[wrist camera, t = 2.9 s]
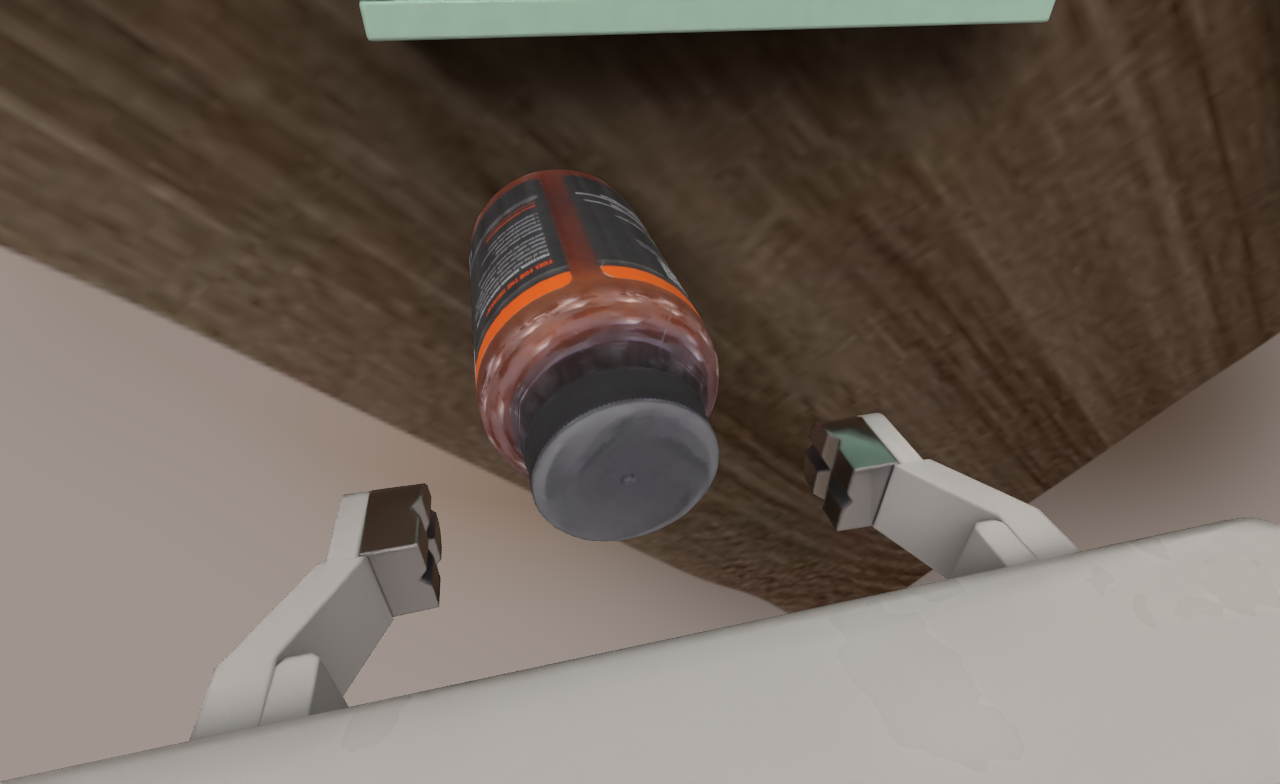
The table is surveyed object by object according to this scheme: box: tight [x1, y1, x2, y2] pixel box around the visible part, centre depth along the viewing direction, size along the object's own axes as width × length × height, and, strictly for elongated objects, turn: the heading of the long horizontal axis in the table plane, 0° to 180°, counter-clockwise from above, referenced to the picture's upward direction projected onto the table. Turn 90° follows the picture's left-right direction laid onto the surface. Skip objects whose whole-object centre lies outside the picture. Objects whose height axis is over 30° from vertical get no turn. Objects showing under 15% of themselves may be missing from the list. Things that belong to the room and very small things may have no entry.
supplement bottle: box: [469, 169, 719, 541], centre depth 17 cm, size 6×6×11 cm
